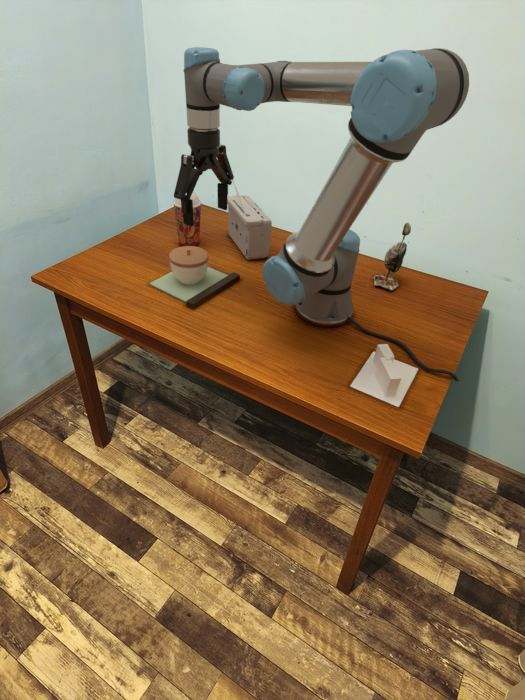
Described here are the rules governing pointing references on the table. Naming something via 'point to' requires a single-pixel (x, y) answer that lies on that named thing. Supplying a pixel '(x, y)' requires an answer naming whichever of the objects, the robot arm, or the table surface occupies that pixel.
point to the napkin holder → (385, 376)
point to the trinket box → (189, 264)
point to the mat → (184, 291)
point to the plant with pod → (393, 262)
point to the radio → (249, 226)
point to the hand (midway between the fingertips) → (206, 216)
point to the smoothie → (186, 232)
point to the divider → (212, 290)
